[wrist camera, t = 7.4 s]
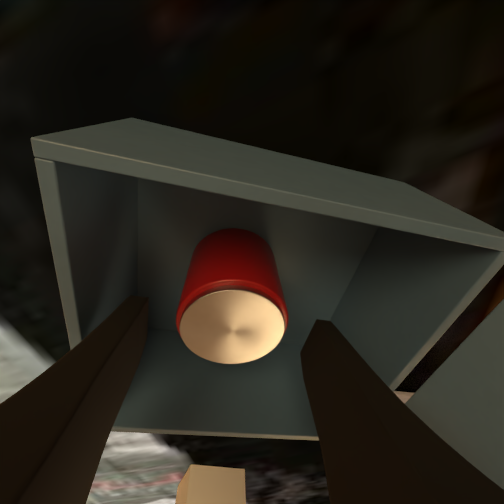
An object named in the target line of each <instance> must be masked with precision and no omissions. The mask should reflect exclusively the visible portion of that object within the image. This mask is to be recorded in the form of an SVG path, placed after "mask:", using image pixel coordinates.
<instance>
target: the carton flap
mask: <svg viewBox="0 0 504 504" xmlns="http://www.w3.org/2000/svg"><path fill="white" fill-rule="evenodd" d="M405 405H406V406H407V407H408V408H409V409H410V410H412V411H413V412H414V413H415V414H416V415H417V416H418V417H419V418H420V419H421V420H422V421H423V422H424V423H425V424H426V425H427V426H428V427H429V428H430V429H432V430H433V431H434V432H435V433H436V434H437V435H438V436H439V437H440V438H442V439H443V440H444V441H445V442H446V443H447V444H448V445H450V446H451V447H452V448H453V449H454V450H455V451H457V452H458V453H459V454H460V455H461V456H462V457H464V458H465V459H466V460H467V461H468V462H470V463H471V464H472V465H473V466H474V467H476V468H477V469H478V470H479V471H481V472H482V473H483V474H484V475H486V476H487V477H488V478H489V479H491V480H492V481H493V482H494V483H496V484H497V485H498V486H500V487H501V488H502V489H503V490H504V299H503V300H502V301H501V302H500V303H499V304H498V305H497V306H496V307H495V309H494V310H493V311H492V312H491V313H490V314H489V315H488V316H487V317H486V318H485V319H484V320H483V321H482V322H481V323H480V324H479V325H478V327H477V328H476V329H475V330H474V331H473V332H472V333H471V334H470V335H469V336H468V337H467V338H466V339H465V340H464V341H463V342H462V343H461V345H460V346H459V347H458V348H457V349H456V350H455V351H454V352H453V353H452V354H451V355H450V356H449V357H448V358H447V359H446V360H445V361H444V363H443V364H442V365H441V366H440V367H439V368H438V369H437V370H436V371H435V372H434V373H433V374H432V375H431V376H430V377H429V378H428V379H427V381H426V382H425V383H424V384H423V385H422V386H421V387H420V388H419V389H418V390H417V391H416V392H415V393H414V394H413V395H412V396H411V397H410V399H409V400H408V401H407V402H406V403H405Z"/></svg>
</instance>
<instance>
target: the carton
mask: <svg viewBox="0 0 504 504" xmlns="http://www.w3.org/2000/svg"><path fill="white" fill-rule="evenodd" d="M31 144H32V149H33V154H34V156H35V157H36V158H35V165H36V170H37V175H38V180H39V186H40V191H41V196H42V201H43V207H44V212H45V217H46V222H47V228H48V233H49V238H50V243H51V248H52V254H53V259H54V264H55V269H56V275H57V280H58V285H59V290H60V296H61V301H62V306H63V311H64V317H65V322H66V327H67V332H68V337H69V343H70V348H71V350H72V349H73V348H74V347H75V346H76V345H77V344H79V343H80V342H81V341H82V340H83V339H84V338H85V337H87V336H88V335H89V334H90V333H91V332H92V331H93V330H94V329H95V328H97V327H98V326H99V325H100V324H101V323H102V322H103V321H104V320H105V319H106V318H107V317H108V316H109V315H110V314H111V313H112V312H113V311H114V310H115V309H116V308H117V307H118V306H119V305H120V304H121V303H122V302H123V301H124V300H125V299H126V298H127V297H129V296H130V295H134V296H141V297H149V305H148V334H147V340H146V343H145V346H144V350H143V353H142V356H141V359H140V363H139V365H138V368H137V370H136V373H135V375H134V377H133V380H132V382H131V385H130V387H129V389H128V392H127V394H126V396H125V399H124V401H123V403H122V406H121V408H120V410H119V413H118V415H117V417H116V420H115V422H114V425H113V427H112V429H111V431H116V432H139V433H162V434H184V435H207V436H230V437H252V438H275V439H298V440H319V438H318V434H317V430H316V426H315V422H314V419H313V415H312V411H311V407H310V403H309V399H308V395H307V391H306V387H305V383H304V379H303V372H302V365H301V357H300V352H301V350H302V348H303V346H304V343H305V341H306V339H307V337H308V335H309V333H310V331H311V329H312V327H313V325H314V323H315V321H316V319H319V320H327V321H331V322H332V323H333V324H334V325H335V326H336V327H337V329H338V330H339V331H340V332H341V333H342V334H343V336H344V337H345V338H346V339H347V340H348V342H349V343H350V344H351V345H352V346H353V347H354V349H355V350H356V351H357V352H358V353H359V355H360V356H361V357H362V358H363V359H364V360H365V362H366V363H367V364H368V365H369V366H370V367H371V368H372V369H373V371H374V372H375V373H376V374H377V375H378V376H379V377H380V378H381V379H382V381H383V382H384V383H385V384H386V385H387V386H388V387H389V388H390V389H391V390H392V391H394V390H395V389H396V388H397V387H398V386H399V384H400V383H401V382H402V381H403V380H404V379H405V378H406V376H407V375H408V374H409V373H410V372H411V371H412V369H413V368H414V367H415V366H416V365H417V364H418V363H419V361H420V360H421V359H422V358H423V357H424V356H425V354H426V353H427V352H428V351H429V350H430V349H431V348H432V346H433V345H434V344H435V343H436V342H437V341H438V339H439V338H440V337H441V336H442V335H443V334H444V333H445V331H446V330H447V329H448V328H449V327H450V326H451V325H452V323H453V322H454V321H455V320H456V319H457V318H458V316H459V315H460V314H461V313H462V312H463V311H464V310H465V308H466V307H467V306H468V305H469V304H470V303H471V301H472V300H473V299H474V298H475V297H476V296H477V295H478V293H479V292H480V291H481V290H482V289H483V288H484V287H485V285H486V284H487V283H488V282H489V281H490V280H491V278H492V277H493V276H494V275H495V274H496V273H497V272H498V270H499V269H500V268H501V267H502V266H503V265H504V232H502V231H500V230H498V229H496V228H494V227H492V226H490V225H488V224H486V223H484V222H482V221H480V220H478V219H476V218H474V217H472V216H470V215H468V214H466V213H464V212H462V211H460V210H458V209H456V208H454V207H452V206H450V205H448V204H446V203H444V202H442V201H440V200H438V199H436V198H434V197H432V196H430V195H428V194H426V193H424V192H422V191H420V190H418V189H416V188H414V187H412V186H410V185H408V184H406V183H404V182H400V181H396V180H392V179H388V178H383V177H379V176H375V175H371V174H367V173H362V172H358V171H354V170H350V169H345V168H341V167H337V166H333V165H329V164H324V163H320V162H316V161H312V160H308V159H303V158H299V157H295V156H291V155H287V154H282V153H278V152H274V151H270V150H266V149H261V148H257V147H253V146H249V145H245V144H240V143H236V142H232V141H228V140H224V139H219V138H215V137H211V136H207V135H202V134H198V133H194V132H190V131H186V130H181V129H177V128H173V127H169V126H165V125H160V124H156V123H152V122H148V121H144V120H139V119H135V118H128V119H123V120H118V121H113V122H108V123H102V124H97V125H92V126H87V127H82V128H77V129H72V130H67V131H61V132H56V133H51V134H46V135H41V136H36V137H31ZM228 228H238V229H244V230H248V231H251V232H253V233H255V234H257V235H259V236H260V237H261V238H263V239H264V240H265V241H266V242H267V243H268V245H269V246H270V248H271V249H272V252H273V254H274V258H275V262H276V266H277V270H278V274H279V278H280V282H281V286H282V290H283V294H284V298H285V302H286V306H287V311H288V318H289V320H288V326H287V329H286V331H285V333H284V335H283V337H282V339H281V341H280V342H279V344H278V345H277V346H276V347H275V348H274V349H273V350H272V351H271V352H269V353H268V354H266V355H265V356H263V357H261V358H258V359H256V360H253V361H250V362H245V363H238V364H223V363H217V362H212V361H209V360H206V359H204V358H202V357H200V356H198V355H196V354H195V353H193V352H192V351H191V350H190V349H189V348H188V347H187V346H186V345H185V343H184V342H183V340H182V338H181V336H180V334H179V332H178V330H177V326H176V314H177V309H178V306H179V302H180V298H181V295H182V291H183V287H184V283H185V280H186V276H187V272H188V269H189V265H190V261H191V258H192V254H193V252H194V249H195V248H196V246H197V245H198V243H199V242H200V241H201V240H202V239H203V238H205V237H206V236H207V235H209V234H211V233H213V232H216V231H218V230H222V229H228Z"/></svg>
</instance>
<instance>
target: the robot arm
mask: <svg viewBox="0 0 504 504" xmlns="http://www.w3.org/2000/svg"><path fill="white" fill-rule="evenodd" d="M148 305H149V297H141V296H134V295H130V296H129V297H127V298H126V299H125V300H124V301H123V302H122V303H121V304H120V305H119V306H118V307H117V308H116V309H115V310H114V311H113V312H112V313H111V314H110V315H109V316H108V317H107V318H106V319H105V320H104V321H103V322H102V323H101V324H100V325H99V326H98V327H97V328H95V329H94V330H93V331H92V332H91V333H90V334H89V335H88V336H87V337H85V338H84V339H83V340H82V341H81V342H80V343H79V344H77V345H76V346H75V347H74V348H73V349H72V350H70V351H69V352H68V353H67V354H65V355H64V356H63V357H62V358H61V359H59V360H58V361H57V362H56V363H55V364H53V365H52V366H51V367H50V368H48V369H47V370H46V371H45V372H43V373H42V374H41V375H39V376H38V377H37V378H35V379H34V380H33V381H31V382H30V383H29V384H27V385H26V386H25V387H23V388H22V389H21V390H19V391H18V392H17V393H15V394H14V395H12V396H11V397H10V398H8V399H7V400H5V401H4V402H3V403H1V404H0V504H86V501H87V498H88V495H89V492H90V489H91V486H92V483H93V480H94V477H95V474H96V471H97V468H98V465H99V462H100V459H101V456H102V453H103V450H104V447H105V444H106V442H107V439H108V437H109V434H110V432H111V429H112V427H113V425H114V422H115V420H116V417H117V415H118V413H119V410H120V408H121V406H122V403H123V401H124V399H125V396H126V394H127V392H128V389H129V387H130V385H131V382H132V380H133V377H134V375H135V373H136V370H137V368H138V365H139V363H140V359H141V356H142V353H143V350H144V346H145V343H146V340H147V334H148ZM300 357H301V365H302V372H303V379H304V383H305V387H306V391H307V395H308V399H309V403H310V407H311V411H312V415H313V419H314V422H315V426H316V430H317V434H318V438H319V442H320V446H321V451H322V456H323V461H324V467H325V473H326V479H327V485H328V491H329V498H330V504H504V490H503V489H502V488H501V487H500V486H498V485H497V484H496V483H494V482H493V481H492V480H491V479H489V478H488V477H487V476H486V475H484V474H483V473H482V472H481V471H479V470H478V469H477V468H476V467H474V466H473V465H472V464H471V463H470V462H468V461H467V460H466V459H465V458H464V457H462V456H461V455H460V454H459V453H458V452H457V451H455V450H454V449H453V448H452V447H451V446H450V445H448V444H447V443H446V442H445V441H444V440H443V439H442V438H440V437H439V436H438V435H437V434H436V433H435V432H434V431H433V430H432V429H430V428H429V427H428V426H427V425H426V424H425V423H424V422H423V421H422V420H421V419H420V418H419V417H418V416H417V415H416V414H415V413H414V412H413V411H412V410H410V409H409V408H408V407H407V406H406V405H405V403H406V402H407V401H408V400H409V399H410V397H411V396H412V395H413V394H414V393H413V392H401V391H392V390H391V389H390V388H389V387H388V386H387V385H386V384H385V383H384V382H383V381H382V379H381V378H380V377H379V376H378V375H377V374H376V373H375V372H374V371H373V369H372V368H371V367H370V366H369V365H368V364H367V363H366V362H365V360H364V359H363V358H362V357H361V356H360V355H359V353H358V352H357V351H356V350H355V349H354V347H353V346H352V345H351V344H350V343H349V342H348V340H347V339H346V338H345V337H344V336H343V334H342V333H341V332H340V331H339V330H338V329H337V327H336V326H335V325H334V324H333V323H332V322H331V321H327V320H319V319H316V321H315V323H314V325H313V327H312V329H311V331H310V333H309V335H308V337H307V339H306V341H305V343H304V346H303V348H302V350H301V352H300Z"/></svg>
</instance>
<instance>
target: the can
mask: <svg viewBox="0 0 504 504" xmlns="http://www.w3.org/2000/svg"><path fill="white" fill-rule="evenodd" d="M288 320H289V318H288V311H287V306H286V302H285V298H284V294H283V290H282V286H281V282H280V278H279V274H278V270H277V266H276V262H275V258H274V254H273V252H272V249H271V248H270V246H269V245H268V243H267V242H266V241H265V240H264V239H263V238H261V237H260V236H259V235H257V234H255V233H253V232H251V231H248V230H244V229H238V228H228V229H222V230H218V231H216V232H213V233H211V234H209V235H207V236H206V237H205V238H203V239H202V240H201V241H200V242H199V243H198V245H197V246H196V248H195V249H194V252H193V254H192V258H191V261H190V265H189V269H188V272H187V276H186V280H185V283H184V287H183V291H182V295H181V298H180V302H179V306H178V309H177V314H176V326H177V330H178V332H179V334H180V336H181V338H182V340H183V342H184V343H185V345H186V346H187V347H188V348H189V349H190V350H191V351H192V352H193V353H195V354H196V355H198V356H200V357H202V358H204V359H206V360H209V361H212V362H217V363H223V364H238V363H245V362H250V361H253V360H256V359H258V358H261V357H263V356H265V355H266V354H268V353H269V352H271V351H272V350H273V349H274V348H275V347H276V346H277V345H278V344H279V342H280V341H281V339H282V337H283V335H284V333H285V331H286V329H287V326H288Z"/></svg>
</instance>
